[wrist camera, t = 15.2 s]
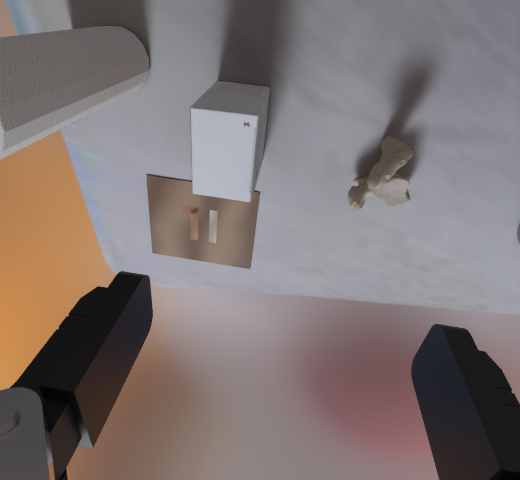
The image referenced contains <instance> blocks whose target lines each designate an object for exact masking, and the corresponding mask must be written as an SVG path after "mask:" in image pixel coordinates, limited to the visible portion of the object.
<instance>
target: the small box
mask: <svg viewBox="0 0 520 480" xmlns="http://www.w3.org/2000/svg"><path fill="white" fill-rule="evenodd" d="M269 92H270V87H264V86H256V85H248V84H241V83H233V82H224V81H217V82H216V83H215V84H214V85H213V86H212V87H211V88H210V89H209V90H208V91H207V92H205V93H204V94H203V95H202V96H201V97H200V98H199V99H198V100H197V101H196V102H195V103H194V104H193V105H192V106H191V107H190V125H191V162H192V193H193V194H198V195H205V196H212V197H218V198H225V199H232V200H238V201H245V202H251V201H252V197H253V194H254V190H255V186H256V182H257V179H258V175H259V171H260V168H261V164H262V161H263V152H264V142H265V132H266V122H267V111H268V101H269Z"/></svg>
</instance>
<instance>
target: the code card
mask: <svg viewBox="0 0 520 480" xmlns="http://www.w3.org/2000/svg"><path fill="white" fill-rule="evenodd" d="M147 188H148V201H149V213H150V226H151V239H152V252H153V253H155V254H162V255H168V256H174V257H180V258H186V259H192V260H199V261H205V262H211V263H217V264H223V265H229V266H236V267H242V268H248V269H250V266H251V258H252V250H253V242H254V234H255V226H256V218H257V210H258V202H259V194H260V192H254V194H253V197H252V201H251V202H245V201H238V200H232V199H225V198H218V197H212V196H205V195H198V194H193V193H192V182H190V181H184V180H177V179H171V178H164V177H158V176H151V175H147Z"/></svg>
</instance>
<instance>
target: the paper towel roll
mask: <svg viewBox="0 0 520 480" xmlns="http://www.w3.org/2000/svg"><path fill="white" fill-rule="evenodd" d="M148 73H149V57H148V55H147V52H146V50H145V47H144V45H143V44H142V42H141V41H140V40H139V39H138V38H137V37H136V35H135V34H133V33H132V32H130V31H128V30H127V29H125V28H123V27H118V26H95V27H87V28H78V29H70V30H61V31H52V32H44V33H35V34H27V35H18V36H9V37H1V38H0V160H1V159H3V158H5V157H6V156H8V155H10V154H12V153H14V152H16V151H18V150H20V149H22V148H24V147H26V146H28V145H30V144H32V143H34V142H36V141H38V140H40V139H42V138H44V137H45V136H47V135H49V134H51V133H53V132H55V131H57V130H59V129H61V128H63V127H65V126H67V125H69V124H71V123H73V122H75V121H77V120H79V119H81V118H83V117H85V116H87V115H89V114H90V113H92V112H94V111H96V110H98V109H100V108H102V107H104V106H106V105H108V104H110V103H112V102H114V101H116V100H118V99H120V98H122V97H124V96H126V95H128V94H130V93H132V92H133V91H135V90H137V89H139V88H140V87H141V86H142V85H143V84H144V83H145V82H146V79H147V76H148Z"/></svg>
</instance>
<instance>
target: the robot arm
mask: <svg viewBox="0 0 520 480" xmlns="http://www.w3.org/2000/svg"><path fill="white" fill-rule="evenodd" d="M518 240H519V242H520V225H519V228H518ZM152 317H153V310H152V299H151V287H150V279H149V276H147V275H142V274H136V273H130V272H124V271H121V272H119V273H118V274H117V275H116V277H115V278H114V279H113V281H112V282H111V284H110V285H109V287H108V288H105V287H99V286H98V287H96V288H95V289H93V290H92V291H90V292H89V293H88V294H86V295H85V296H83V297H82V298H80V300H79V301H78V302H77V304H76V305H75V306H74V307H73V309H72V310H71V311H70V313H69V316H68V317H66V318H65V319H64V320H63V322H62V323H61V324H60V326H59V329H58V330H56V331H55V332H54V333H53V335H52V336H51V337H50V339H49V340H48V341H47V343H46V344H45V345H44V347H43V348H42V349H41V350H40V352H39V353H38V354H37V356H36V357H35V358H34V359H33V361H32V362H31V363H30V365H29V366H28V367H27V368H26V370H25V371H24V373H23V374H22V375H21V376H20V378H19V379H18V380H17V381H16V382H15V383H14V385H12V386H11V387H10V388H8V389H4V390H1V391H0V480H71V477H70V470H69V464H68V463H69V461H70V459H71V458H72V456H73V454H74V452H75V450H76V448H77V446H83V447H88V448H93V447H94V445H95V443H96V441H97V439H98V437H99V435H100V433H101V430H102V428H103V426H104V424H105V422H106V420H107V418H108V416H109V414H110V412H111V410H112V408H113V406H114V404H115V402H116V399H117V397H118V395H119V393H120V391H121V389H122V387H123V385H124V383H125V381H126V379H127V377H128V374H129V373H130V370H131V369H132V366H133V364H134V362H135V360H136V358H137V356H138V354H139V352H140V350H141V348H142V346H143V344H144V342H145V339H146V338H147V335H148V333H149V331H150V327H151V323H152ZM411 370H412V371H411V374H412V380H413V385H414V388H415V392H416V396H417V399H418V403H419V407H420V410H421V414H422V418H423V421H424V425H425V428H426V432H427V436H428V440H429V443H430V447H431V451H432V454H433V458H434V462H435V465H436V469H437V473H438V476H439V480H520V404H519V402H518V400H517V398H516V396H515V394H513V393H512V392H511V391H512V389H511V387H510V385H509V383H508V381H507V379H506V377H505V375H504V373H503V372H502V370H501V369H500V368H499V366H498V365H497V364H496V363H495V362H494V361H493V360H492V359H491V358H490V357H489V356H488V354H487V353H486V352H484V351H478V349H477V347H476V345H475V343H474V340H473V338H472V336H471V334H470V333H469V331H468V330H466V329H464V328H458V327H452V326H446V325H440V324H435V325H434V326H432V328H431V329H430V331H429V332H428V334H427V336H426V338H425V339H424V341H423V343H422V344H421V347H420V348H419V350H418V351H417V353H416V355H415V357H414V359H413V362H412V369H411Z"/></svg>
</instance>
